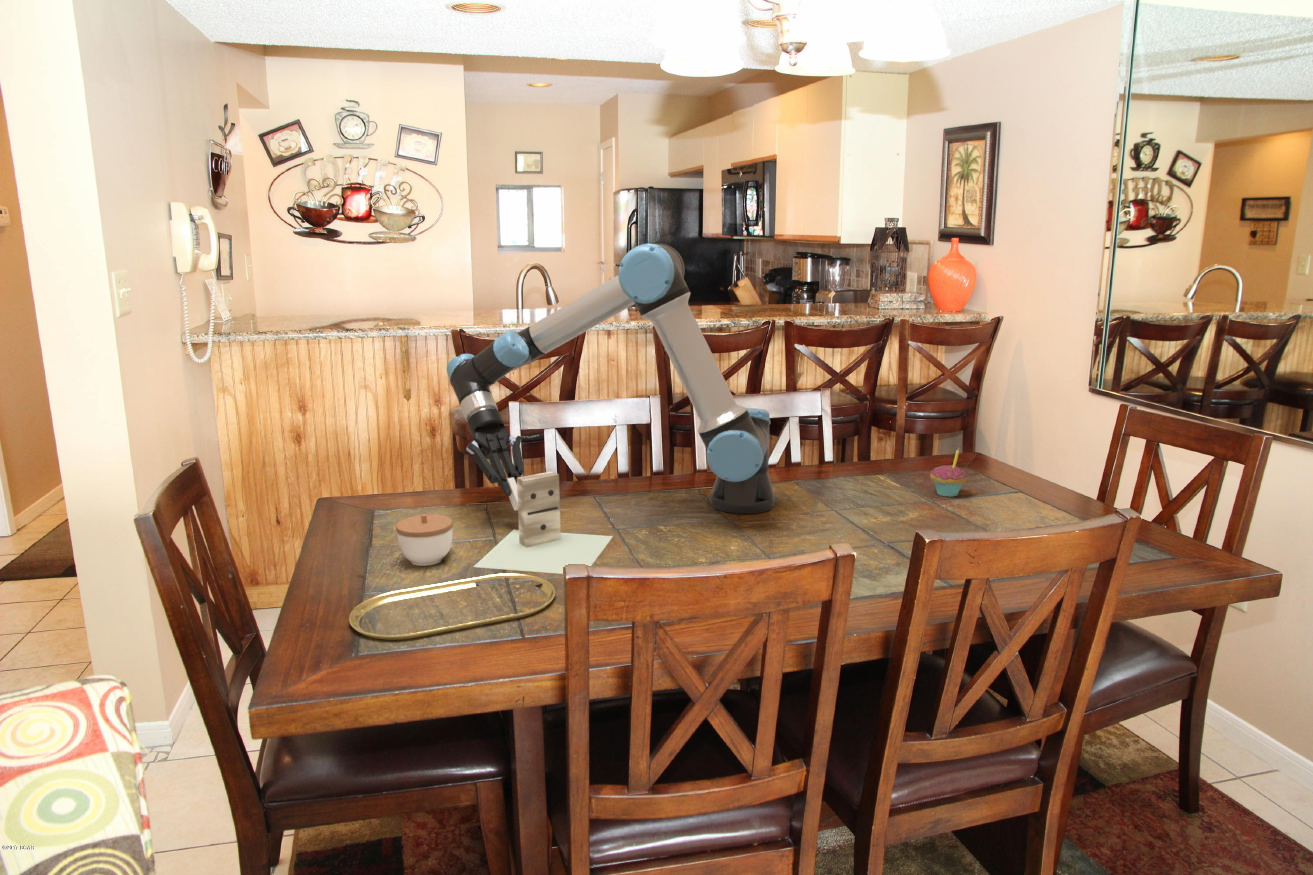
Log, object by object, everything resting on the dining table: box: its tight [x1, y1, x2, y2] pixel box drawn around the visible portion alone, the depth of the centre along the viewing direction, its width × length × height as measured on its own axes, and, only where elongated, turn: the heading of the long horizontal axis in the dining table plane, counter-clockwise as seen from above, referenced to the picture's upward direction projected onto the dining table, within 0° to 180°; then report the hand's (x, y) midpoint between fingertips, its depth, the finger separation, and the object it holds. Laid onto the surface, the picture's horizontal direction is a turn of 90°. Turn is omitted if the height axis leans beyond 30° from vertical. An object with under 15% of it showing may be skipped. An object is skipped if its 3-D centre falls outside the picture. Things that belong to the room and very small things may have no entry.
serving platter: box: [348, 573, 556, 641], centre depth 154 cm, size 19×35×2 cm, turn 115°
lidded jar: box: [395, 513, 454, 567], centre depth 175 cm, size 11×11×9 cm
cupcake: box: [929, 447, 968, 498], centre depth 217 cm, size 9×8×12 cm
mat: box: [473, 529, 614, 575], centre depth 180 cm, size 22×22×1 cm
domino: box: [517, 471, 562, 547], centre depth 183 cm, size 3×8×14 cm, turn 125°
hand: (519, 506), depth 190 cm, fingers closed
